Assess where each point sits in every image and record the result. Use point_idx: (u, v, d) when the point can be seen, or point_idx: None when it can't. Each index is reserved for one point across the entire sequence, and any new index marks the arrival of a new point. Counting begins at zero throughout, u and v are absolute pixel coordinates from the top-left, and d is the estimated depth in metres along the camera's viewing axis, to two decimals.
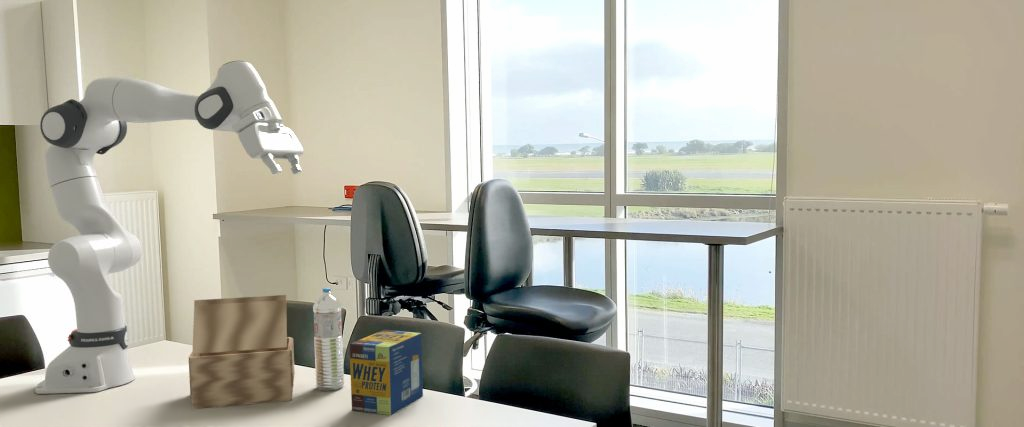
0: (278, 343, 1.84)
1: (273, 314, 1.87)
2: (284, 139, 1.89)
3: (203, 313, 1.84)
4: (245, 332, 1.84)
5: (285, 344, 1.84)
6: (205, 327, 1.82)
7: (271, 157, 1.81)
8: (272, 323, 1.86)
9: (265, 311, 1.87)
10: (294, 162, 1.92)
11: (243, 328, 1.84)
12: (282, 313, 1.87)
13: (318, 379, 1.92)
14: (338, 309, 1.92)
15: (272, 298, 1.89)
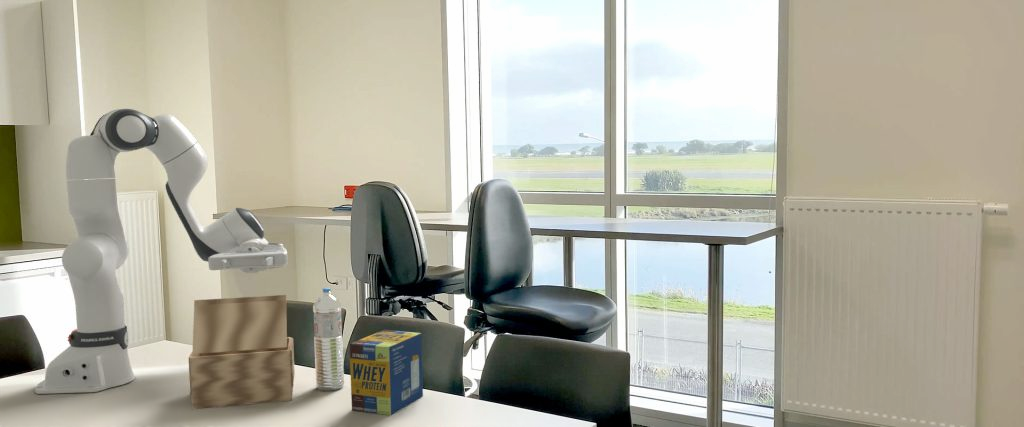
0: (278, 343, 1.84)
1: (273, 314, 1.87)
2: None
3: (203, 313, 1.84)
4: (245, 332, 1.84)
5: (285, 344, 1.84)
6: (205, 327, 1.82)
7: (271, 264, 2.08)
8: (272, 323, 1.86)
9: (265, 311, 1.87)
10: None
11: (243, 328, 1.84)
12: (282, 313, 1.87)
13: (318, 379, 1.92)
14: (338, 309, 1.92)
15: (272, 298, 1.89)
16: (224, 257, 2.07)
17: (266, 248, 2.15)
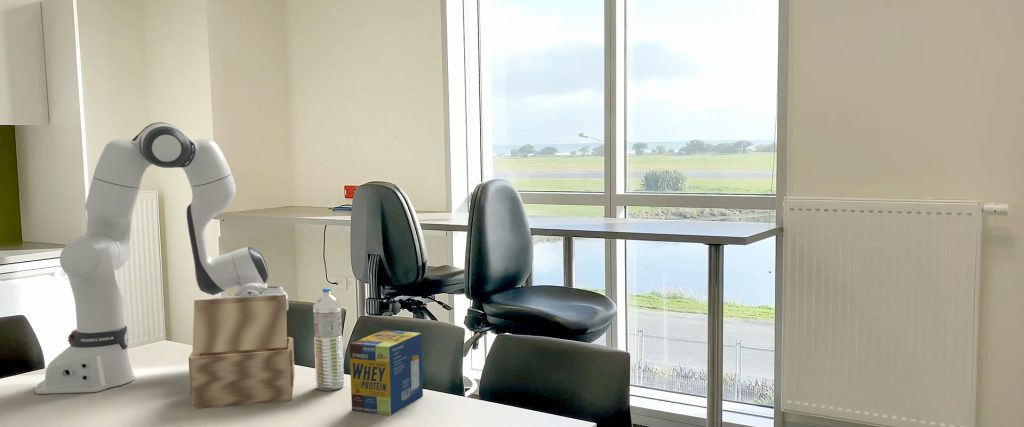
0: (278, 343, 1.84)
1: (273, 314, 1.87)
2: None
3: (203, 313, 1.84)
4: (245, 332, 1.84)
5: (285, 344, 1.84)
6: (205, 327, 1.82)
7: None
8: (272, 323, 1.86)
9: (265, 311, 1.87)
10: None
11: (243, 328, 1.84)
12: (282, 313, 1.87)
13: (318, 379, 1.92)
14: (338, 309, 1.92)
15: (272, 298, 1.89)
16: None
17: (266, 291, 2.11)
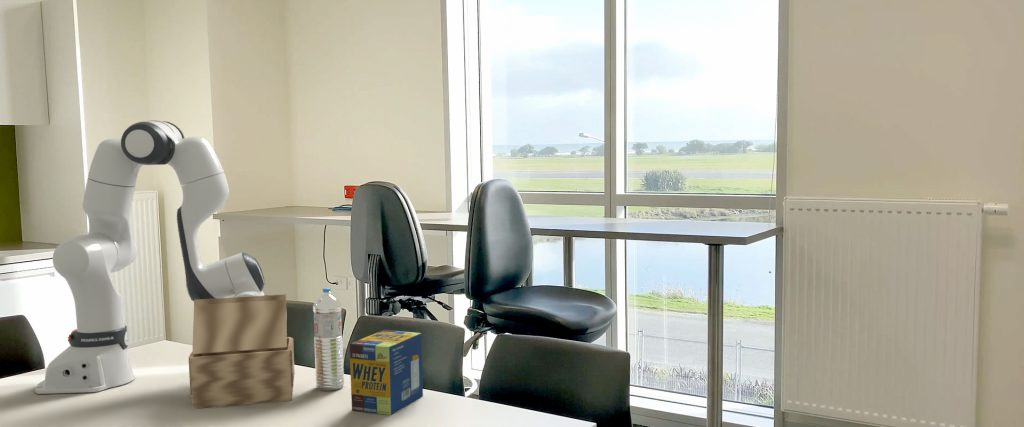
0: (278, 343, 1.84)
1: (273, 314, 1.87)
2: None
3: (202, 313, 1.83)
4: (245, 332, 1.84)
5: (285, 344, 1.84)
6: (205, 327, 1.82)
7: None
8: (272, 323, 1.86)
9: (265, 311, 1.87)
10: None
11: (243, 328, 1.84)
12: (282, 313, 1.87)
13: (318, 379, 1.92)
14: (338, 309, 1.92)
15: (272, 297, 1.88)
16: None
17: None
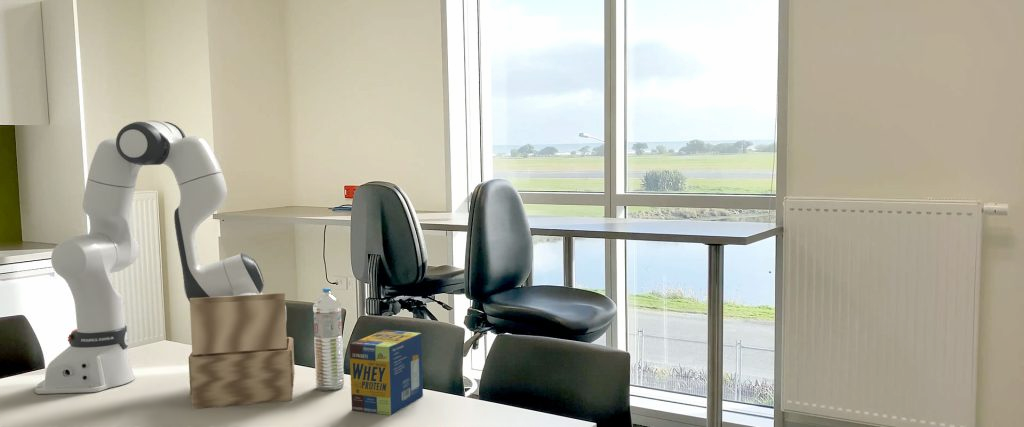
0: (278, 344, 1.84)
1: (272, 314, 1.83)
2: None
3: (199, 313, 1.79)
4: (244, 333, 1.82)
5: (285, 345, 1.84)
6: (203, 327, 1.79)
7: None
8: (271, 323, 1.83)
9: (263, 311, 1.82)
10: None
11: (242, 328, 1.81)
12: (281, 313, 1.83)
13: (318, 379, 1.92)
14: (338, 309, 1.92)
15: (270, 296, 1.82)
16: None
17: None
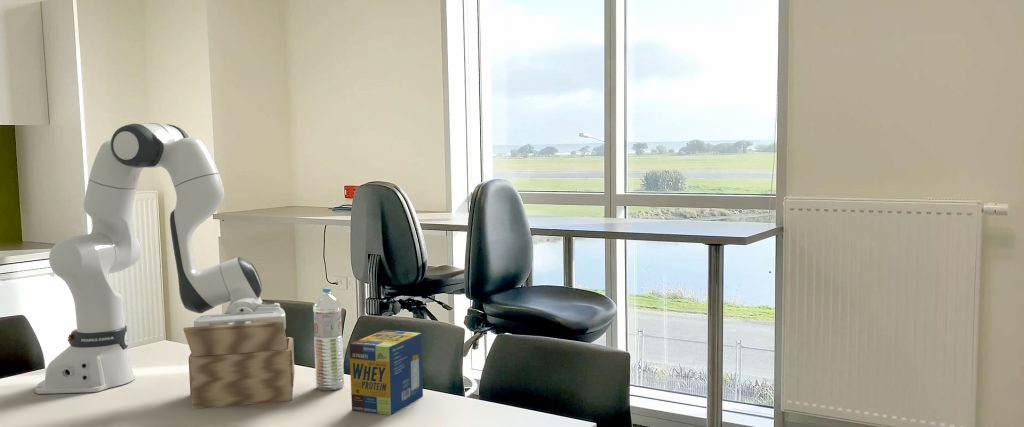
0: (278, 348, 1.83)
1: (271, 334, 1.77)
2: None
3: (195, 336, 1.72)
4: (244, 344, 1.79)
5: (285, 348, 1.84)
6: (201, 343, 1.75)
7: None
8: (270, 338, 1.79)
9: (262, 332, 1.76)
10: None
11: (240, 342, 1.78)
12: (280, 333, 1.77)
13: (318, 379, 1.92)
14: (338, 309, 1.92)
15: (269, 325, 1.74)
16: (212, 321, 1.78)
17: (261, 309, 1.87)
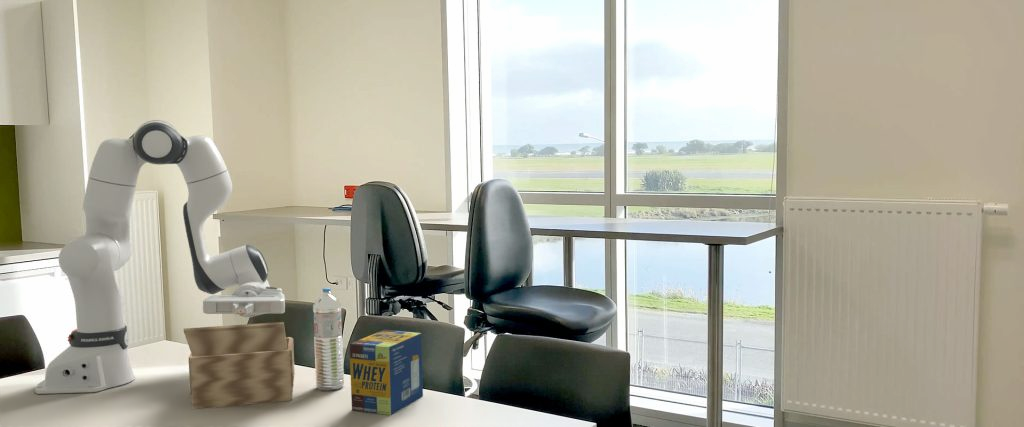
0: (278, 348, 1.83)
1: (271, 334, 1.77)
2: None
3: (195, 337, 1.72)
4: (243, 344, 1.79)
5: (285, 348, 1.84)
6: (201, 343, 1.75)
7: None
8: (270, 339, 1.79)
9: (262, 333, 1.76)
10: None
11: (240, 342, 1.78)
12: (280, 333, 1.77)
13: (318, 379, 1.92)
14: (338, 309, 1.92)
15: (269, 326, 1.74)
16: (219, 301, 2.00)
17: (264, 292, 2.08)
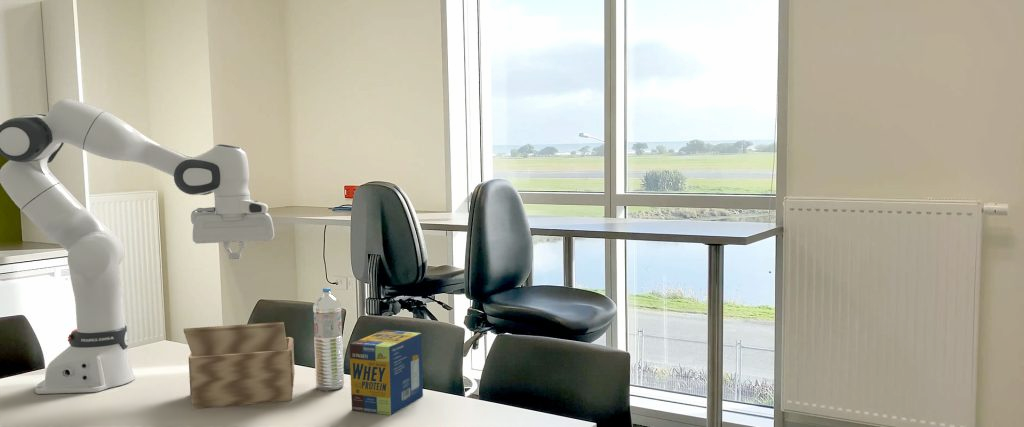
0: (278, 348, 1.83)
1: (271, 334, 1.77)
2: None
3: (195, 337, 1.72)
4: (243, 344, 1.79)
5: (285, 348, 1.84)
6: (201, 343, 1.75)
7: None
8: (270, 339, 1.79)
9: (262, 333, 1.76)
10: (229, 248, 2.05)
11: (240, 342, 1.78)
12: (280, 333, 1.77)
13: (318, 379, 1.92)
14: (338, 309, 1.92)
15: (269, 326, 1.74)
16: (209, 242, 2.03)
17: (250, 217, 2.04)
